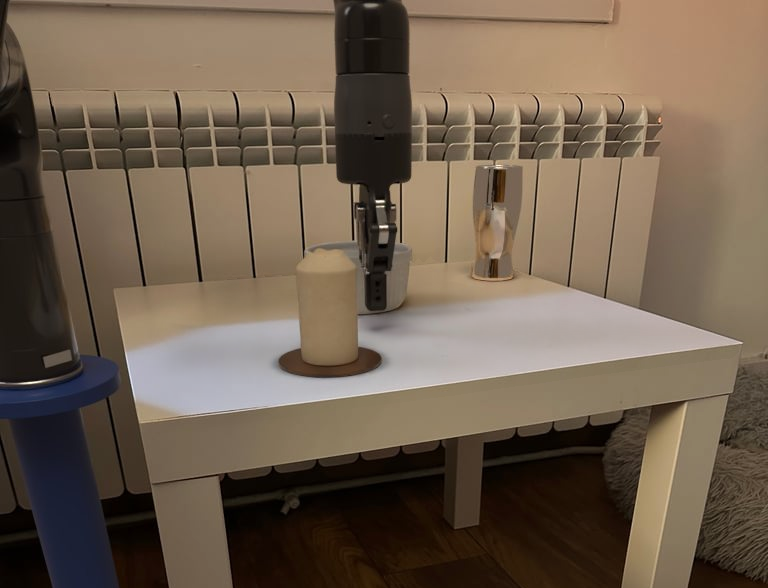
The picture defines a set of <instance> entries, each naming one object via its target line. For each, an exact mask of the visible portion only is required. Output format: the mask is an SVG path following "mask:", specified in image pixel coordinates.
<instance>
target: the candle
mask: <svg viewBox="0 0 768 588" xmlns="http://www.w3.org/2000/svg"><path fill="white" fill-rule="evenodd" d="M295 273H296V274H295V275H296V290H297V305H298V307H297V308H298V321H299V322H298V323H299V324H298V325H299V339H300V348H301V354H302V359H303V361H305V362H307V363H309V364H314V365H323V366H332V365H342V364H347V363H350V362H353V361H355V360H356V359H357V358H358V347H359V325H358V324H359V323H358V322H359V321H358V320H359V319H358V314H357V278H356V266H355V264H354V263H353V262H352V261H351V260H350V259H349V258H348V256H347V255H346V254H345V253H344V252H343V250H338V249H333V250H330V251H326V250H324V249H321V248H318V249H316V250H315V251H314V252H313V253H312V252H310V251H309V252H308V254H307V255H306V256H305V257H303V259H302V260H300V262H299V263H298V264H297V265H296V267H295Z"/></svg>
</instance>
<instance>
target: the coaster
mask: <svg viewBox="0 0 768 588" xmlns="http://www.w3.org/2000/svg"><path fill="white" fill-rule="evenodd" d="M382 361H383V360H382V356H381V354H380V353H379V352H378V351H375V350H374V349H371V348H368V347H363V346H358V358H357V359H356V360H355V361H353V362H350V363H347V364H342V365H332V366H323V365H314V364H309V363H307V362H305V361H303V359H302V354H301V347H299V348H296V349H292V350H290V351H287V352H285V353H283V354H281V355H280V356H279V357H278V361H277V363H278V366H279V368H280V369H281V370H283V371H285V372H287V373H290V374H293V375H297V376H303V377H312V378H339V377H348V376H356V375H360V374H363V373H367V372H370V371H373V370H374V369H376V368H378V367H379V366H380V365H381V364H382Z"/></svg>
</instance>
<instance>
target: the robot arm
mask: <svg viewBox="0 0 768 588" xmlns="http://www.w3.org/2000/svg"><path fill="white" fill-rule="evenodd" d="M332 1H333V8H334V30H333V33H334V34H333V35H334V38H333V39H334V65H335V68H334V69H335V70H334V71H335V85H334V97H333V115H334V117H333V118H334V142H335V170H336V172H335V173H336V179H337V181H338V182H339V183H341V184H344V185H355V186H357V185H358V186H359V188H358V192H359V193H358V201H354V202H353V203H352V209H353V211H352V212H353V219H354V220H355V225H356V227H355V229H356V241H357V246H358V248H359V254H360V255H359V260H360V262H361V263H362V264H361V268H362V269H363V272H365V273H364V288H365V306H366V308H367V309H368V310H369V311H383V310H385V309H386V307H387V275H386V274H388V273H389V271H391V268H392V261H393V254H394V247H395V242H396V239H397V233H398V226H397V223H396V222H397V204H396V203H393V202H392V200H391V190H390V189H391V186H392V185H400V184H406V183H408V182H409V181H411V179H412V166H413V165H412V163H413V161H412V158H413V155H412V152H413V151H412V147H413V145H412V144H413V98H412V97H413V96H412V89H411V79H410V78H411V76H410V74H411V73H410V72H411V71H410V69H411V60H410V59H411V42H410V41H411V34H410V33H411V32H410V30H411V29H410V19H409V18H410V17H409V14H408V9H407V8H406V6H405V4H403V0H332ZM10 4H11V0H0V390H32V389H40V388H46V387H51V386H55V385H60V384H63V383H66V382H69V381H71V380H74V379H76V378H77V377H79V376H80V375H82V373H83V371H84V370H83V366H82V362H81V361H80V354H81V353H80V349H79V346H78V342H77V337H76V331H75V327H74V323H73V318H72V313H71V308H70V303H69V299H68V293H67V289H66V283H65V280H64V276H63V275H64V274H63V270H62V265H61V261H60V255H59V251H58V246H57V242H56V241H57V240H56V237H55V232H54V227H53V222H52V218H51V217H52V216H51V214H50V209H49V204H48V199H47V196H46V194H47V193H46V189H45V184H44V178H43V165H44V157H43V156H44V155H43V147H42V141H41V135H40V130H39V124H38V119H37V114H36V106H35V103H34V102H35V101H34V96H33V92H32V91H33V90H32V87H31V80H30V76H29V71H28V68H27V63H26V60H25V56H24V52H23V50H22V47H21V44H20V41H19V39H18V38H17V35H16V34H15V32H14V30H13V28H12V27H11V26H10V24H9V23H8V16H9V9H10Z"/></svg>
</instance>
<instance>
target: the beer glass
mask: <svg viewBox="0 0 768 588" xmlns="http://www.w3.org/2000/svg"><path fill="white" fill-rule="evenodd" d="M523 171H524V166H523V165H516V164H515V165H514V164H482V165H476V166H475V174H474V179H473V190H472V220H473V229H474V238H475V259H474V263H473V268H472V272H471V277H472V279H475V280H479V281H487V282H503V281H508V280H511V279H513V278H514V268H513V267H514V266H513V247H514V242H515V238H516V233H517V229H518V225H519V221H520V217H521V211H522V203H523V191H524V187H523V186H524V185H523V184H524V183H523V180H524V179H523V177H524V176H523V173H524V172H523Z"/></svg>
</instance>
